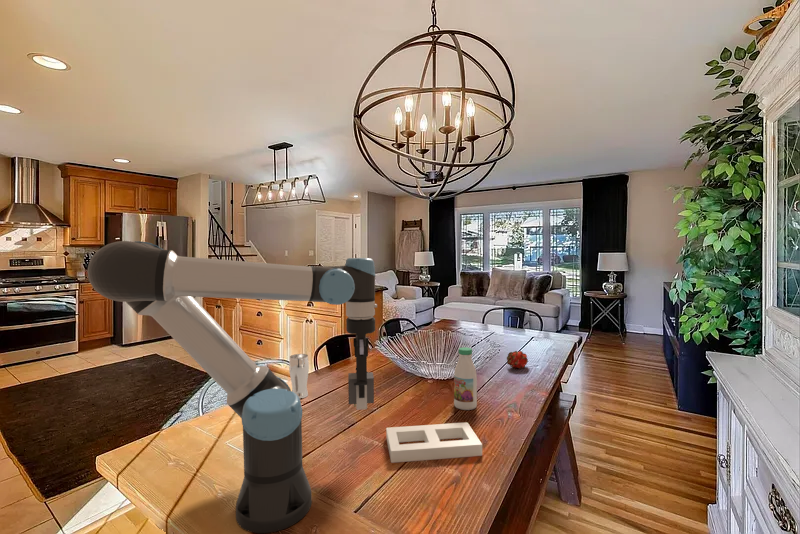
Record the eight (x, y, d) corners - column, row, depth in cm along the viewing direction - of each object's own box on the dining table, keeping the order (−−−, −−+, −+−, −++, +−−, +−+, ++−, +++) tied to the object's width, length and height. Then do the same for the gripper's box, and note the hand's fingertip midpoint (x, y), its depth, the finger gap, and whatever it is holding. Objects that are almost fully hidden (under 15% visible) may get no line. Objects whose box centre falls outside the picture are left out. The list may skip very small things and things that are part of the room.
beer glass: (311, 392, 146) (311, 353, 146) (305, 399, 139) (304, 358, 139) (294, 392, 147) (293, 353, 146) (287, 399, 140) (286, 358, 139)
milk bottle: (461, 399, 138) (461, 344, 137) (480, 405, 133) (480, 348, 132) (449, 406, 132) (449, 349, 131) (469, 412, 127) (469, 352, 126)
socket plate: (482, 455, 101) (482, 444, 101) (391, 462, 98) (390, 451, 98) (467, 432, 114) (467, 422, 114) (386, 437, 111) (386, 427, 111)
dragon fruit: (505, 373, 172) (524, 372, 178) (518, 365, 166) (537, 365, 172) (499, 355, 177) (517, 355, 183) (511, 347, 171) (530, 347, 177)
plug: (373, 408, 100) (373, 378, 99) (348, 410, 99) (348, 379, 99) (372, 401, 105) (372, 372, 104) (348, 402, 104) (348, 373, 103)
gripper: (377, 323, 92) (378, 418, 93) (373, 311, 110) (373, 391, 111) (345, 323, 91) (346, 420, 92) (346, 311, 109) (347, 392, 110)
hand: (361, 404), depth 102 cm, fingers closed on plug, 5 cm apart
